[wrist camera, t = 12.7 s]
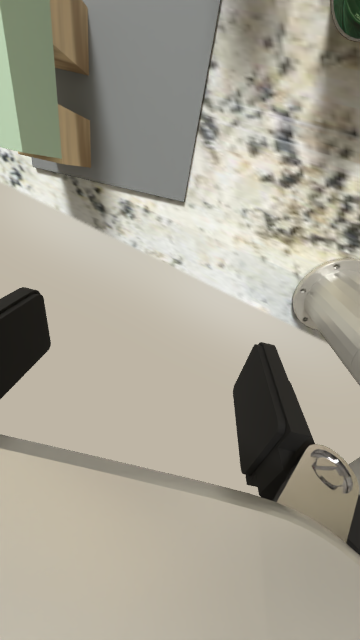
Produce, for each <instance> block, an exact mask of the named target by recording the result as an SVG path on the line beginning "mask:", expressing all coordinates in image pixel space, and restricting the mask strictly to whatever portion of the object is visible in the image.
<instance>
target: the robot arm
mask: <svg viewBox="0 0 360 640" xmlns="http://www.w3.org/2000/svg"><path fill="white" fill-rule="evenodd" d="M334 265H335V266H334ZM301 289H302V290H301ZM293 309H294V312H295V314H296V316H297V318H298V319H299V320H300V322H301V323H303V324H304V325H306V326H307V327H309V328H312V329H315V330H319V331H320V332H321V334H322V335H323V337H324V338H325V339H326V341H327V342H328V343H329V345H330V346H331V348H332V349H333V350H334V352H335V353H336V354H337V356H338V357H339V358H340V360H341V361H342V363H343V364H344V365H345V367H346V368H347V369H348V371H349V372H350V373H351V375H352V376H353V378H354V379H355V380H356V381H357V383H358V384H359V385H360V260H358V259H354V258H343V259H336V260H332V261H329V262H326V263H324V264H322V265H320V266H318V267H317V268H315V269H313V270H312V271H311V272H309V273H308V274H307V275H306V276H305V277H304V278H303V279H302V281H301V282H300V283H299V285H298V286H297V288H296V290H295V293H294V296H293ZM50 344H51V342H50V336H49V330H48V324H47V318H46V311H45V305H44V299H43V296H42V295H40V293H39V291H37V290H33V289H29V288H24V287H22V288H19V289H18V290H16V291H14V292H12V293H10V294H9V295H7V296H5V297H3V298H1V299H0V399H1V398H2V397H3V396H4V395H5V394H6V393H7V392H8V391H9V390H10V389H11V388H12V387H13V386H14V385H15V383H17V382H18V381H19V380H20V379H21V377H23V376H24V374H25V373H26V372H27V371H28V370H29V369H30V368H31V367H32V366H33V365H34V364H35V363H36V362H37V361H38V360H39V359H40V358H41V357H42V356H43V355H44V354H45V353H46V352H47V350H49V348H50ZM233 397H234V407H235V416H236V426H237V436H238V445H239V455H240V464H241V471H242V473H243V474H246V481H247V485H251V486H256V487H258V491H259V495H260V496H261V497H258V496H255V495H252V494H249V493H245V492H241V491H237V490H233V489H229V488H225V487H221V486H217V485H214V484H210V483H206V482H202V481H198V480H193V479H189V478H185V477H181V476H177V475H173V474H169V473H164V472H160V471H155V470H151V469H147V468H143V467H139V466H135V465H130V464H126V463H122V462H118V461H113V460H109V459H105V458H100V457H96V456H92V455H88V454H83V453H79V452H75V451H70V450H66V449H61V448H57V447H53V446H48V445H44V444H40V443H35V442H31V441H27V440H22V439H18V438H14V437H9V436H5V435H0V640H360V457H359V458H358V459H356V460H355V461H353V462H352V463H350V464H349V465H348V464H347V463H346V461H345V460H344V459H343V458H342V457H340V456H339V455H338V454H337V453H336V452H334V451H333V450H331V449H330V448H328V447H325V446H323V445H317V444H315V443H314V440H313V438H312V435H311V433H310V430H309V428H308V425H307V423H306V420H305V418H304V415H303V413H302V410H301V408H300V405H299V403H298V401H297V398H296V395H295V393H294V390H293V388H292V385H291V383H290V381H289V380H288V378H287V375H286V373H285V370H284V367H283V365H282V362H281V360H280V358H279V355H278V352H277V350H276V347H275V346H274V345H271V344H266V343H262V342H261V343H259V344H258V345H254V347H253V349H252V351H251V353H250V355H249V357H248V359H247V361H246V363H245V365H244V367H243V369H242V371H241V373H240V375H239V377H238V379H237V381H236V383H235V385H234V389H233Z"/></svg>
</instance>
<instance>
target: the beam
mask: <svg viewBox="0 0 360 640" xmlns="http://www.w3.org/2000/svg"><path fill="white" fill-rule="evenodd" d="M0 147H2V148H6V149H10V150H14V151H19V152H23V153H29V154H35V155H41V156H47V157H54V158H60V159H62V154H61V141H60V128H59V115H58V102H57V89H56V76H55V63H54V50H53V37H52V24H51V11H50V0H0Z"/></svg>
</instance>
